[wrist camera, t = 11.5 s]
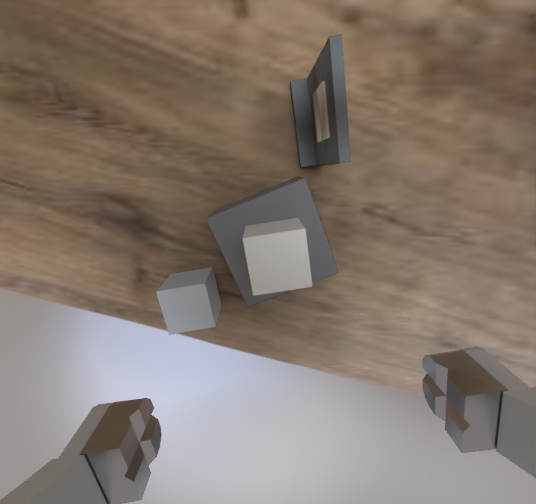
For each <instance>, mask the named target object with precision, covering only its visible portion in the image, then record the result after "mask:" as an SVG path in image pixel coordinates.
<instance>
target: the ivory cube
mask: <svg viewBox="0 0 536 504" xmlns="http://www.w3.org/2000/svg"><path fill="white" fill-rule="evenodd" d="M242 239H243V244H244V249H245V255H246V260H247V265H248V271H249V276H250V281H251V287H252V292H253V296H255V295H262V294H268V293H275V292H281V291H288V290H294V289H301V288H307V287H312V278H311V270H310V262H309V254H308V245H307V237H306V229H305V227H304V226H303V224H302V223H301V222H300V220H299V219H298V218H292V219H286V220H280V221H274V222H267V223H261V224H255V225H248V226H246V227H245V231H244V234H243V238H242Z"/></svg>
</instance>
